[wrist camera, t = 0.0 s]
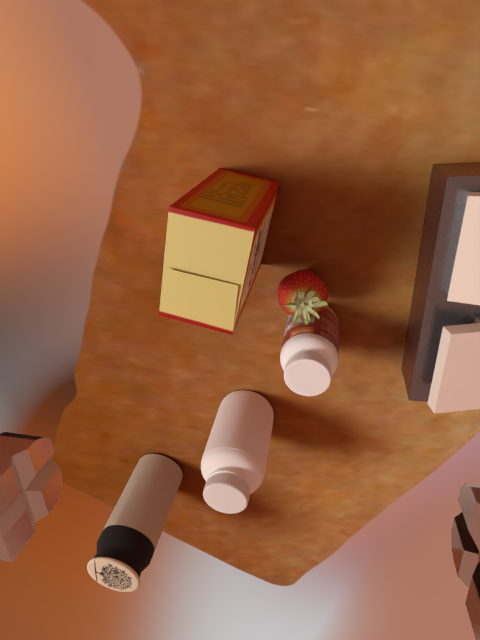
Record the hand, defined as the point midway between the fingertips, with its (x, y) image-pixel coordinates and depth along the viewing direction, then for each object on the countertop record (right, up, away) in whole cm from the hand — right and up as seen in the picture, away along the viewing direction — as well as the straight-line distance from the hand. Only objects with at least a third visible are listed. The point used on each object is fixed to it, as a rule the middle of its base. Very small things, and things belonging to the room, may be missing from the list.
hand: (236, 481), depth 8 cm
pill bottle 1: (+1, -10, +51) cm, 52 cm away
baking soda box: (0, +15, +38) cm, 40 cm away
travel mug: (-13, -22, +62) cm, 67 cm away
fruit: (+8, +8, +40) cm, 41 cm away
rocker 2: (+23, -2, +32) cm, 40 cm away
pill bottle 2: (+9, +3, +42) cm, 43 cm away
